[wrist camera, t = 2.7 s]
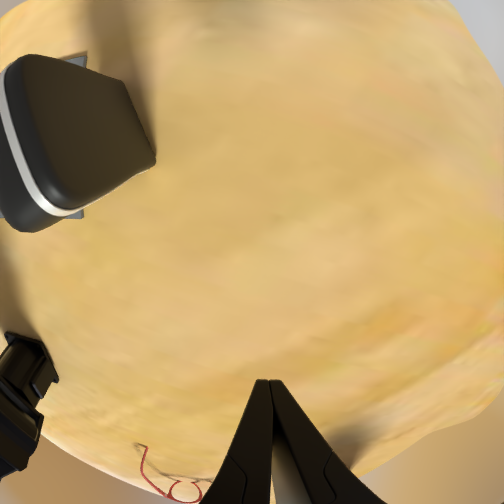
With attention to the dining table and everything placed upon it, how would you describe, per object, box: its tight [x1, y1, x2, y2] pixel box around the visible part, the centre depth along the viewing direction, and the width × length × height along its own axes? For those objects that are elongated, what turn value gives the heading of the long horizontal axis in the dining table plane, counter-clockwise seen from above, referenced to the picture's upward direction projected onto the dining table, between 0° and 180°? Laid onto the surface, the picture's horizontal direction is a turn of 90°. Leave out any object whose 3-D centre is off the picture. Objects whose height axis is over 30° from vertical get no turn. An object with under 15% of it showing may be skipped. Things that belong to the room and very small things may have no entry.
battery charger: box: [0, 54, 156, 233], centre depth 11 cm, size 7×4×11 cm, turn 21°
